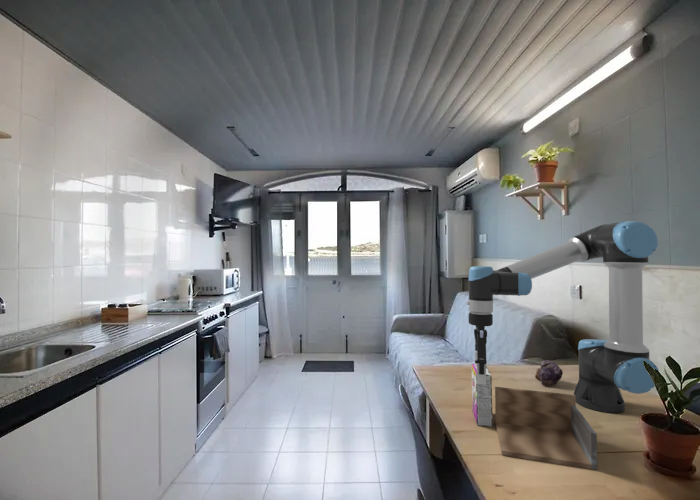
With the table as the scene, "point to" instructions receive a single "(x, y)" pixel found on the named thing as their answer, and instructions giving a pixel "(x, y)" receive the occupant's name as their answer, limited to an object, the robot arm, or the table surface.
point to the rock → (549, 373)
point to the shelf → (544, 428)
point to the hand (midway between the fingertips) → (480, 377)
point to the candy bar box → (482, 398)
